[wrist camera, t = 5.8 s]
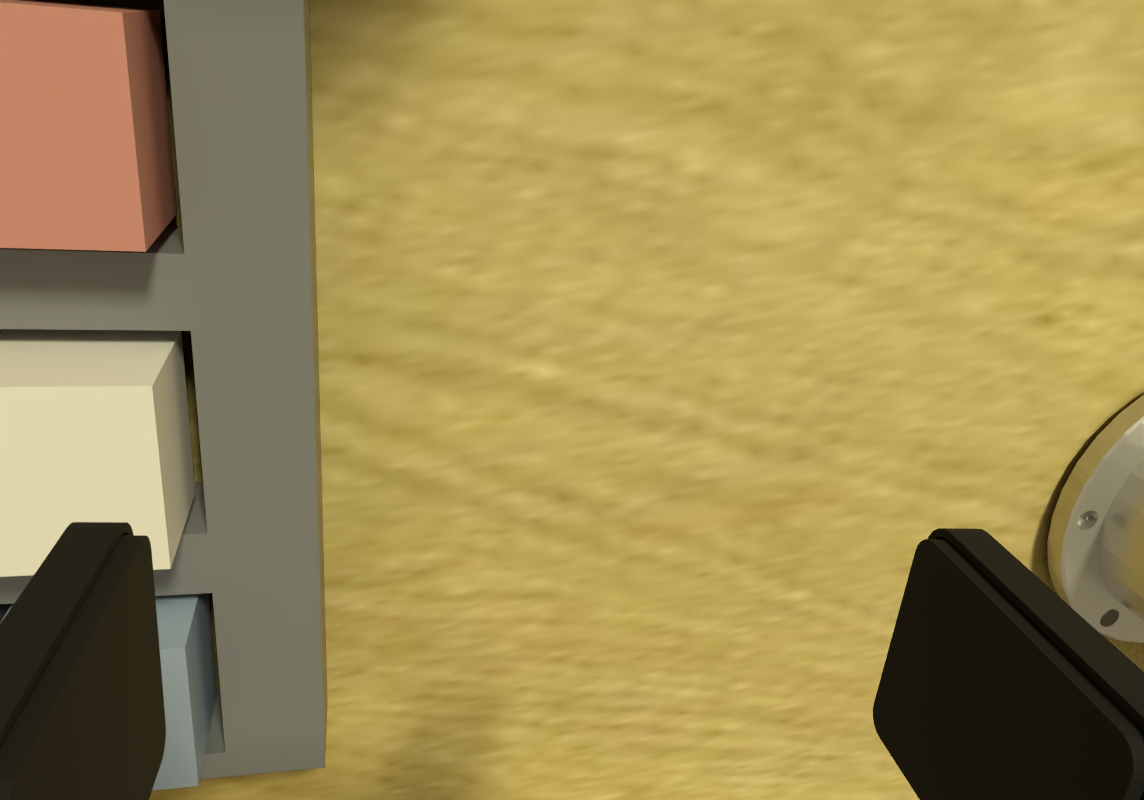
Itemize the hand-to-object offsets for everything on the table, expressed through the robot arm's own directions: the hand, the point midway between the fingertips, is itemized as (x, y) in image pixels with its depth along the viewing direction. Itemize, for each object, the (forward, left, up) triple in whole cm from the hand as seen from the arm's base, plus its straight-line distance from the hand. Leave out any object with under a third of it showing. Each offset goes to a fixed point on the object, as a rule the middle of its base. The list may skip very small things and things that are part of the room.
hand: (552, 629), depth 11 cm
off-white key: (+9, +4, -16) cm, 19 cm away
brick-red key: (+9, -4, -17) cm, 20 cm away
